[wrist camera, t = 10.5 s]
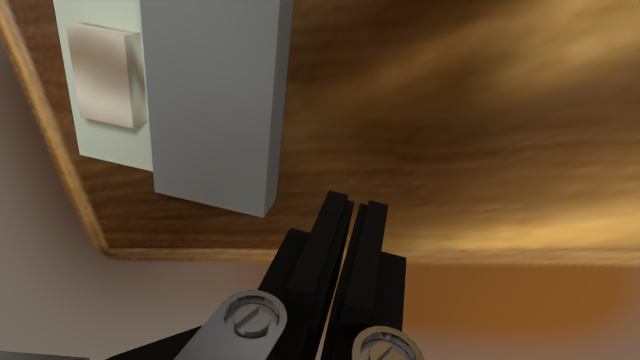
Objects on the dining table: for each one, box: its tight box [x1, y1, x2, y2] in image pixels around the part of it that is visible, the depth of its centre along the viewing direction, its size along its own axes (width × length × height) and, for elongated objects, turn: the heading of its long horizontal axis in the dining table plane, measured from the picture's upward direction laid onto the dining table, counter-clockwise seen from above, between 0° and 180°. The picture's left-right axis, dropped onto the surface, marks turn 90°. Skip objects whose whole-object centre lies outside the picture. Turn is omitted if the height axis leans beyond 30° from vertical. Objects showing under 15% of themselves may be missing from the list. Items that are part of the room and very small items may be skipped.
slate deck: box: [140, 0, 294, 218], centre depth 37 cm, size 22×12×4 cm, turn 173°
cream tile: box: [65, 22, 148, 128], centre depth 40 cm, size 9×6×2 cm, turn 173°
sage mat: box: [53, 0, 153, 171], centre depth 41 cm, size 22×12×1 cm, turn 173°
